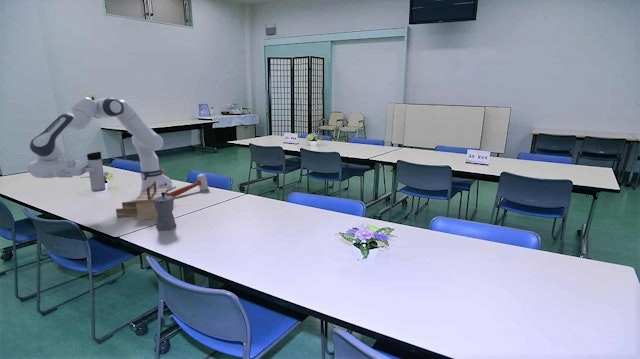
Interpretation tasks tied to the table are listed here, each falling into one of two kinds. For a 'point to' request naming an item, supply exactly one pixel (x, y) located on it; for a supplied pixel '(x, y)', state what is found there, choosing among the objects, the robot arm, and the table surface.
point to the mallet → (192, 186)
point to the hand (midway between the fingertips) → (97, 167)
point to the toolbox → (142, 204)
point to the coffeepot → (164, 212)
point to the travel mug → (96, 172)
